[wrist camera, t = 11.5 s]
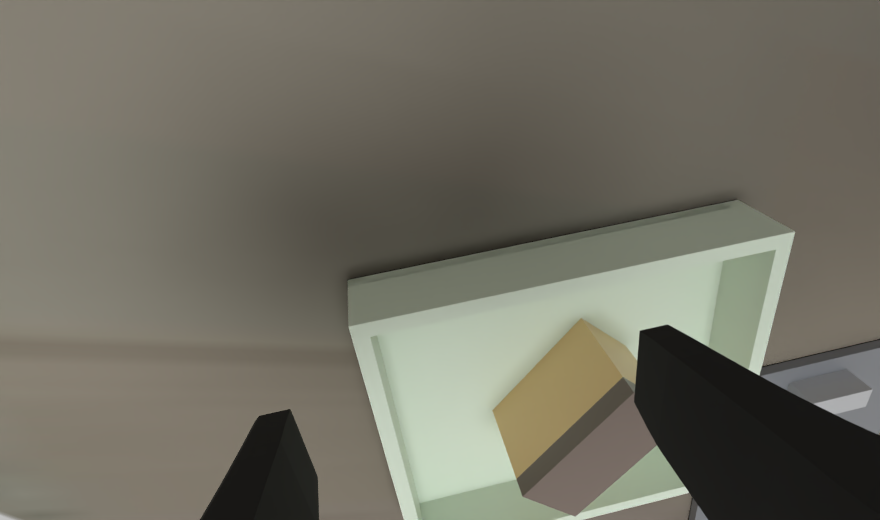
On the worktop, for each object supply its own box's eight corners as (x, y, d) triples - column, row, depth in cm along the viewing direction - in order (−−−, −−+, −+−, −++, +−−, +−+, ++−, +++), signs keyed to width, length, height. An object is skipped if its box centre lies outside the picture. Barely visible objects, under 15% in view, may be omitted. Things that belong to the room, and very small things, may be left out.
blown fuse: (625, 345, 23) (684, 421, 19) (538, 431, 24) (575, 516, 21) (581, 317, 21) (634, 392, 18) (492, 410, 23) (522, 496, 19)
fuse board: (911, 332, 26) (951, 357, 25) (812, 564, 37) (835, 592, 36) (715, 378, 26) (742, 407, 24) (673, 601, 37) (689, 632, 35)
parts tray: (737, 199, 20) (795, 231, 18) (696, 434, 27) (733, 481, 25) (347, 280, 19) (348, 326, 17) (408, 504, 26) (415, 561, 24)
